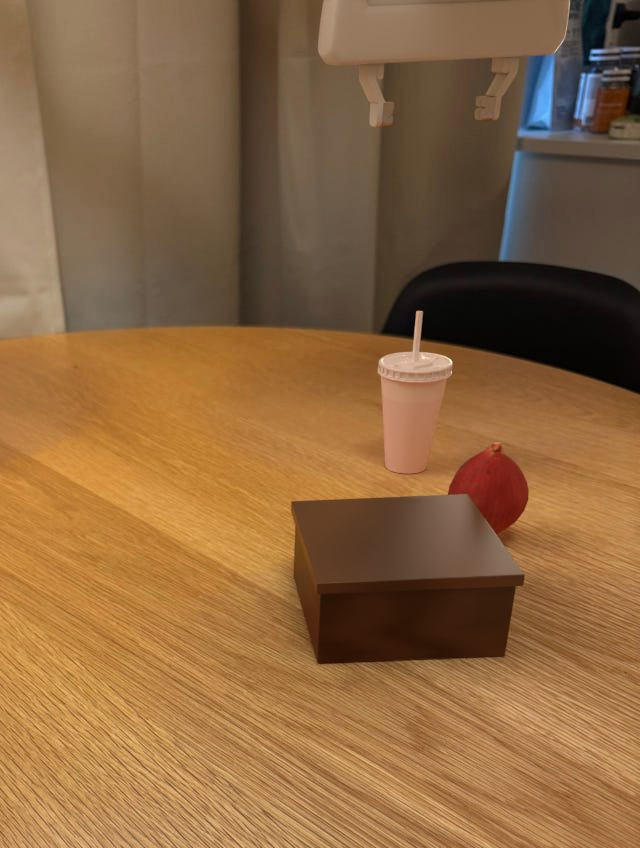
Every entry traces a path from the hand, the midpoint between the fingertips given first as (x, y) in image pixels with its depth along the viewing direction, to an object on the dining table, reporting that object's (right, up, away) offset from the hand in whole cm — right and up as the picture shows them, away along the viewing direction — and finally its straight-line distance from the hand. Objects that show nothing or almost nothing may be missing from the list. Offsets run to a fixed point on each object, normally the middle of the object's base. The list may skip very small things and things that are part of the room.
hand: (433, 123), depth 85 cm
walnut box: (-7, -42, -16) cm, 46 cm away
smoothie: (-1, -28, +7) cm, 29 cm away
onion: (+2, -36, -7) cm, 37 cm away
